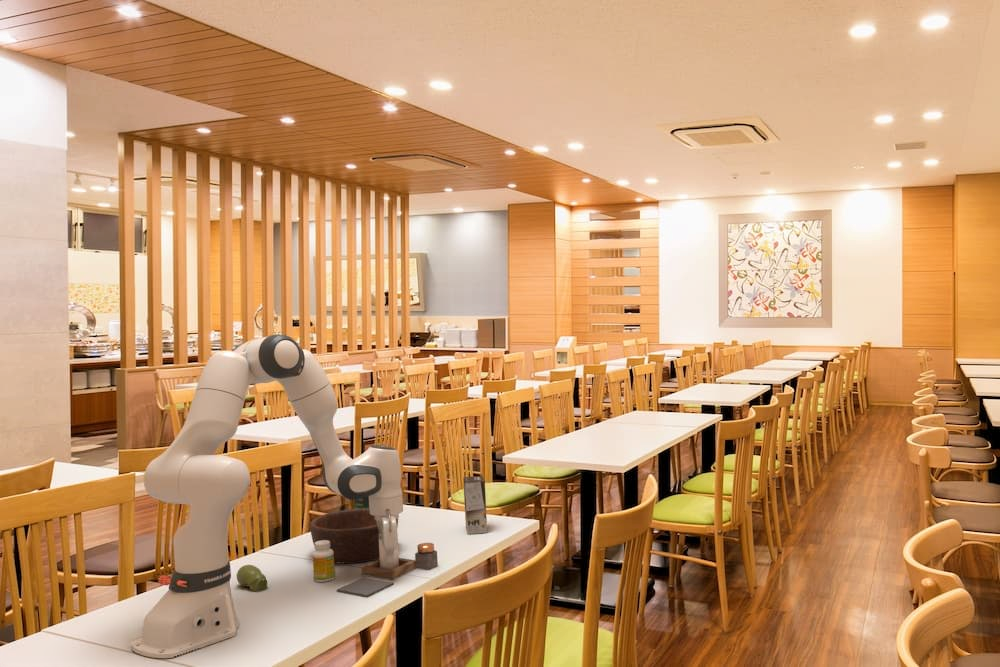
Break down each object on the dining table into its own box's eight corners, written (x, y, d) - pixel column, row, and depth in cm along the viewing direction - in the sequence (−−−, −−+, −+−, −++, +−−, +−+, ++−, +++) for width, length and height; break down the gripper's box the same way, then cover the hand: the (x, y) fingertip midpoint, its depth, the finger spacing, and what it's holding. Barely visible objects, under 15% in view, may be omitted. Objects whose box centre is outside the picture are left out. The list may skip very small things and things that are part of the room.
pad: (367, 597, 195) (367, 595, 195) (336, 591, 201) (336, 589, 201) (393, 584, 204) (393, 582, 204) (363, 579, 209) (363, 577, 209)
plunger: (428, 566, 214) (427, 548, 214) (415, 564, 216) (414, 546, 216) (438, 562, 218) (437, 543, 218) (425, 560, 220) (424, 542, 220)
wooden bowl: (297, 567, 223) (294, 530, 223) (331, 541, 248) (329, 507, 247) (383, 567, 219) (381, 530, 218) (410, 541, 243) (408, 507, 243)
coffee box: (488, 533, 248) (485, 481, 247) (467, 534, 247) (464, 482, 247) (485, 525, 257) (482, 475, 256) (465, 527, 256) (462, 476, 256)
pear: (252, 559, 213) (273, 572, 206) (251, 578, 213) (272, 592, 207) (232, 565, 208) (254, 578, 202) (231, 584, 209) (253, 598, 203)
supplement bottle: (329, 582, 208) (327, 545, 208) (310, 582, 209) (308, 545, 209) (338, 575, 213) (336, 539, 213) (319, 575, 214) (317, 539, 214)
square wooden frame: (404, 581, 206) (403, 566, 206) (361, 574, 213) (360, 559, 213) (437, 565, 218) (436, 550, 218) (396, 559, 225) (395, 544, 225)
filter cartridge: (391, 575, 212) (389, 537, 211) (376, 572, 214) (374, 535, 214) (402, 569, 216) (401, 532, 216) (388, 567, 218) (386, 530, 218)
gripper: (402, 513, 205) (405, 567, 205) (394, 496, 225) (396, 546, 225) (377, 516, 204) (380, 570, 204) (371, 499, 224) (374, 548, 224)
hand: (388, 557), depth 215 cm, fingers open, 5 cm apart
